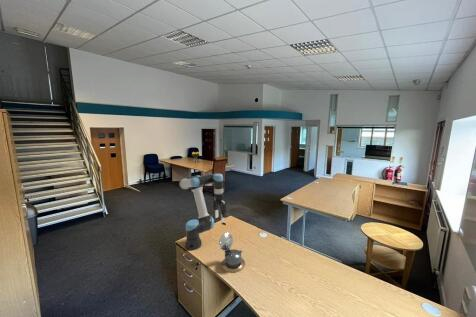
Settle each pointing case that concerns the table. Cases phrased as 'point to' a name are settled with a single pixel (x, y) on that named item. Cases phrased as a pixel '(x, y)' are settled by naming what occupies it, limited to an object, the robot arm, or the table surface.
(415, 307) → the table surface
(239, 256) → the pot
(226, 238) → the lid
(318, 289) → the table surface
